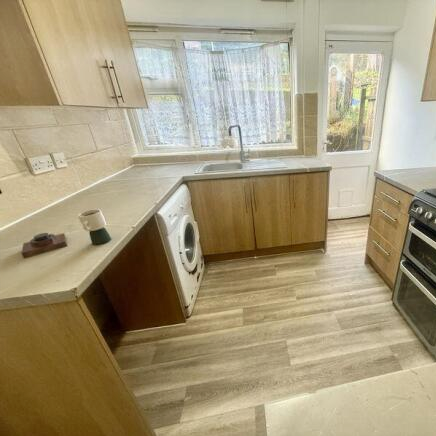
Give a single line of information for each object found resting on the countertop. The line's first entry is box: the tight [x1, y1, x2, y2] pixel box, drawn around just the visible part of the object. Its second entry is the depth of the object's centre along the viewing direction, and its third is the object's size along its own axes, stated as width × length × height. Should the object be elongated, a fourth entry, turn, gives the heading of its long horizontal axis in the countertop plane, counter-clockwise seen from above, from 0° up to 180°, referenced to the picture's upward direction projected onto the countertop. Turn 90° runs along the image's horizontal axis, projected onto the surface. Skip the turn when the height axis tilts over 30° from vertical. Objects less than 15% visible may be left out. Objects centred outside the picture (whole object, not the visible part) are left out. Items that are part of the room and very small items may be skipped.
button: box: [33, 232, 50, 241], centre depth 93 cm, size 4×4×2 cm
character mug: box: [77, 208, 112, 246], centre depth 94 cm, size 11×7×13 cm, turn 11°
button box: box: [21, 232, 68, 259], centre depth 94 cm, size 12×10×4 cm
